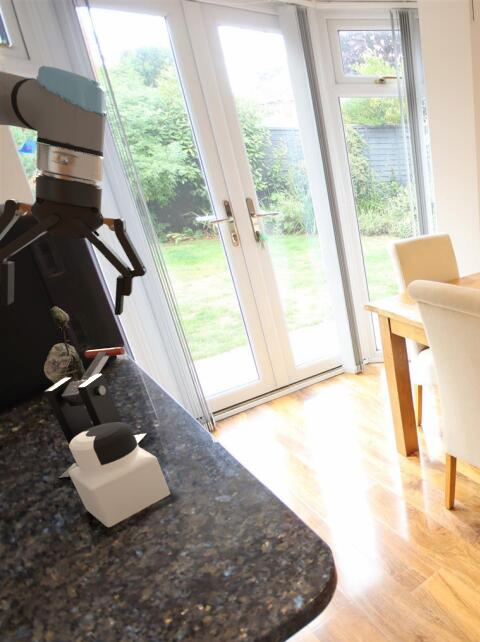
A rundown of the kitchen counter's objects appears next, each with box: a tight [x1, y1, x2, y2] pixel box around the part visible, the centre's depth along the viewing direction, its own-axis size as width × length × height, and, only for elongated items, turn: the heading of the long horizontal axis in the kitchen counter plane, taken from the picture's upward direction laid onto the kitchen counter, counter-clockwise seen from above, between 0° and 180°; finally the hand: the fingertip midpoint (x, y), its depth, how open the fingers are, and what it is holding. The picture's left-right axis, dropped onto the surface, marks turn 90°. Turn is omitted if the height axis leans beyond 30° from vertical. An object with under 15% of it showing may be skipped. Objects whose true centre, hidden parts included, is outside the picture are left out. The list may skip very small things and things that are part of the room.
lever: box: [61, 346, 126, 406], centre depth 70 cm, size 11×5×2 cm, turn 13°
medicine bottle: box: [68, 421, 171, 528], centre depth 60 cm, size 7×7×12 cm
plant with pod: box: [43, 306, 86, 409], centre depth 86 cm, size 8×11×20 cm
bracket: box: [43, 373, 148, 480], centre depth 69 cm, size 10×7×14 cm
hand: (65, 308), depth 77 cm, fingers open, 13 cm apart
